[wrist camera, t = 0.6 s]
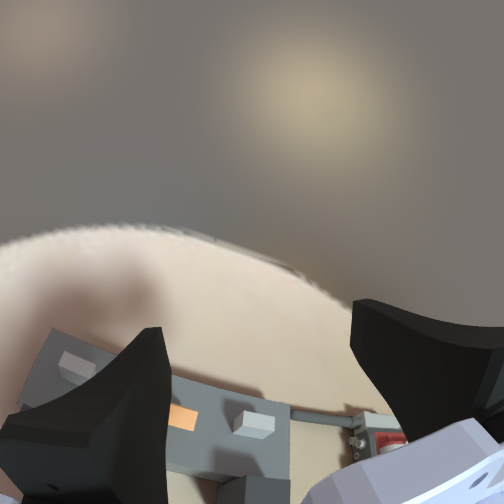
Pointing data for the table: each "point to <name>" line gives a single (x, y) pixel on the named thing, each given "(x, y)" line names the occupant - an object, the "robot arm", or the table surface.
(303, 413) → the walkie-talkie
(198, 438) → the power strip
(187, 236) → the table surface
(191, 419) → the orange rectangular block
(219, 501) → the plug
